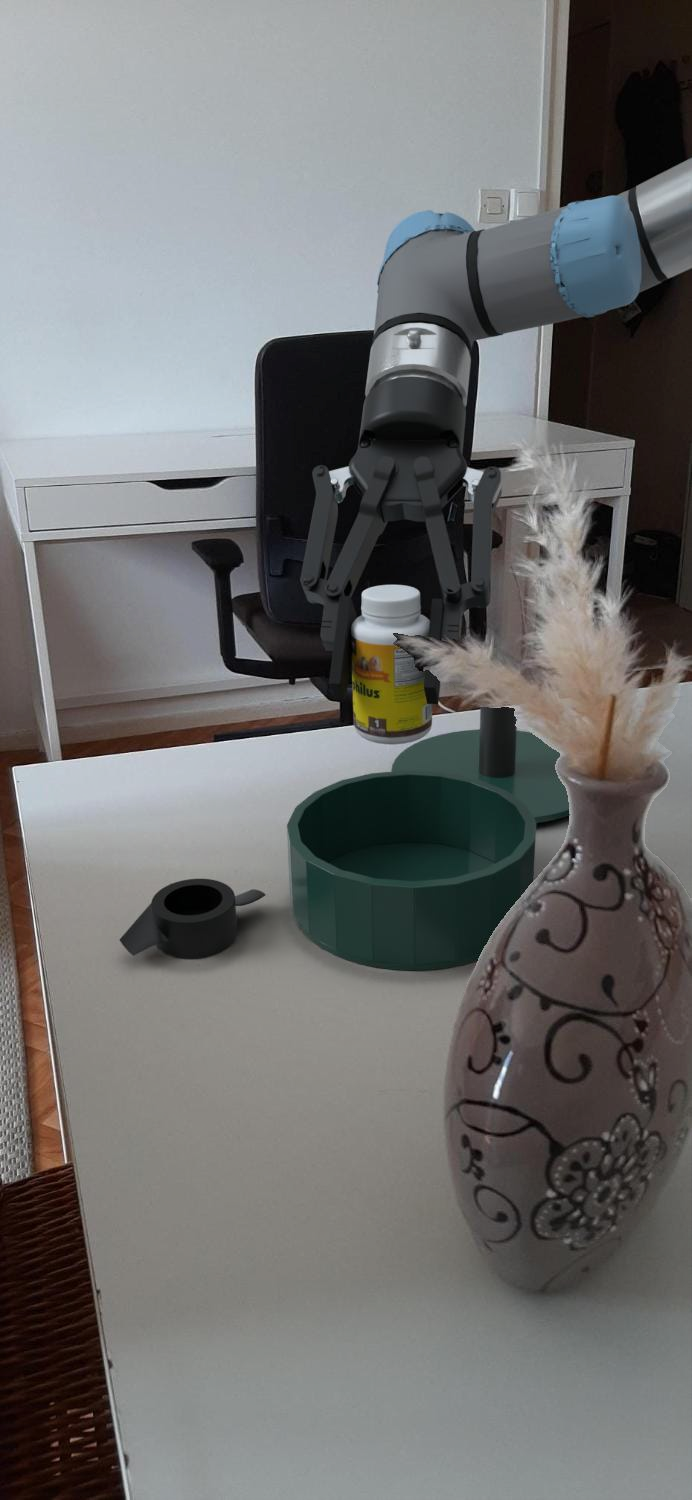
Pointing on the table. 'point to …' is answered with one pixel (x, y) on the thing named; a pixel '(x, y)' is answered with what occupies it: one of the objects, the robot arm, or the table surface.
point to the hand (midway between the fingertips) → (384, 693)
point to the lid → (496, 761)
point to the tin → (408, 867)
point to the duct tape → (189, 919)
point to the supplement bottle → (388, 667)
